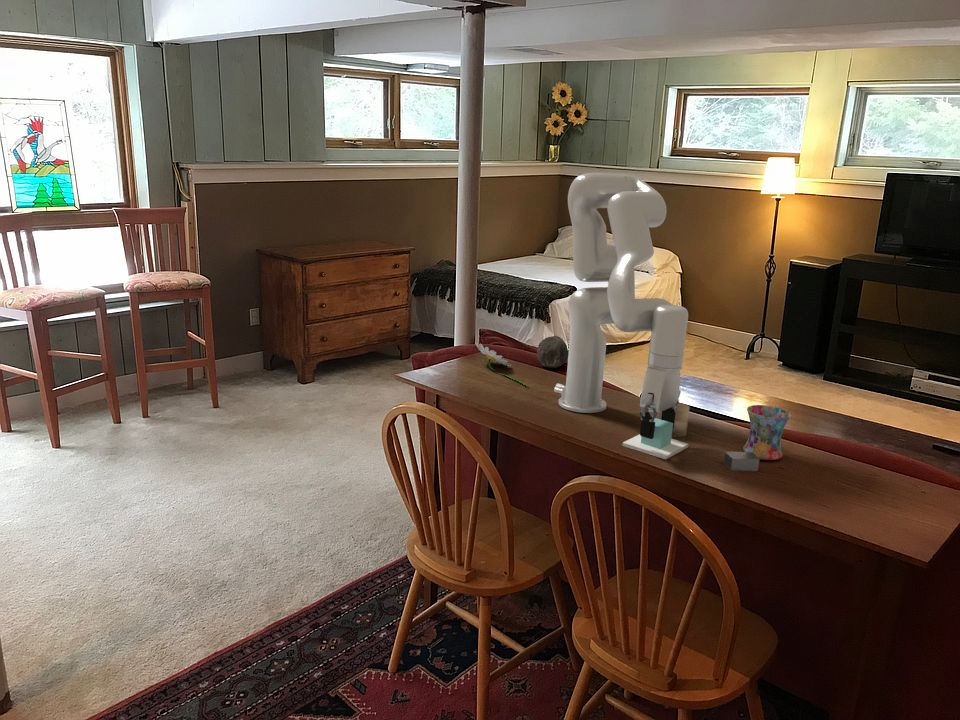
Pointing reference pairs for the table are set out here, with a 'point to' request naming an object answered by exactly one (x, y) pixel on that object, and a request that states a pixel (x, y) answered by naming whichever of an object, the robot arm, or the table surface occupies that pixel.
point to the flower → (494, 358)
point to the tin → (741, 461)
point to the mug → (766, 431)
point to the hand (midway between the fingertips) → (657, 432)
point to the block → (660, 434)
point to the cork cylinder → (681, 420)
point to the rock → (552, 352)
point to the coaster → (661, 453)
